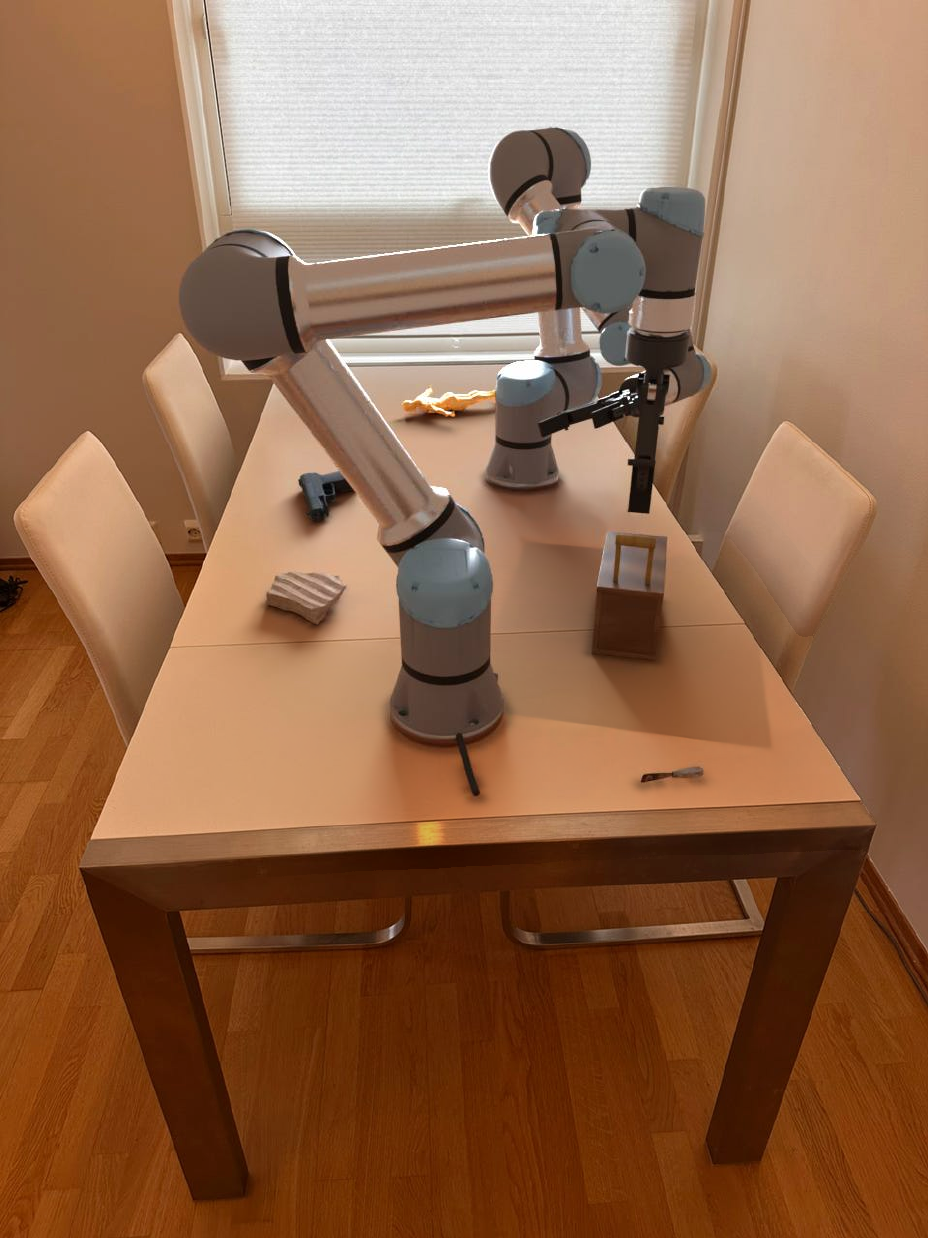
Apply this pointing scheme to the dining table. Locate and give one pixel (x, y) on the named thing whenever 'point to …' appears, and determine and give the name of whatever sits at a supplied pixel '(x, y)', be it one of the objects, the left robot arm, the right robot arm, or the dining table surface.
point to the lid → (633, 565)
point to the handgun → (321, 491)
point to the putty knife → (674, 774)
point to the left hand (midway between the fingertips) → (641, 490)
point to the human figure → (446, 402)
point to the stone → (305, 593)
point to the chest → (626, 626)
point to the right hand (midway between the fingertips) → (566, 425)
